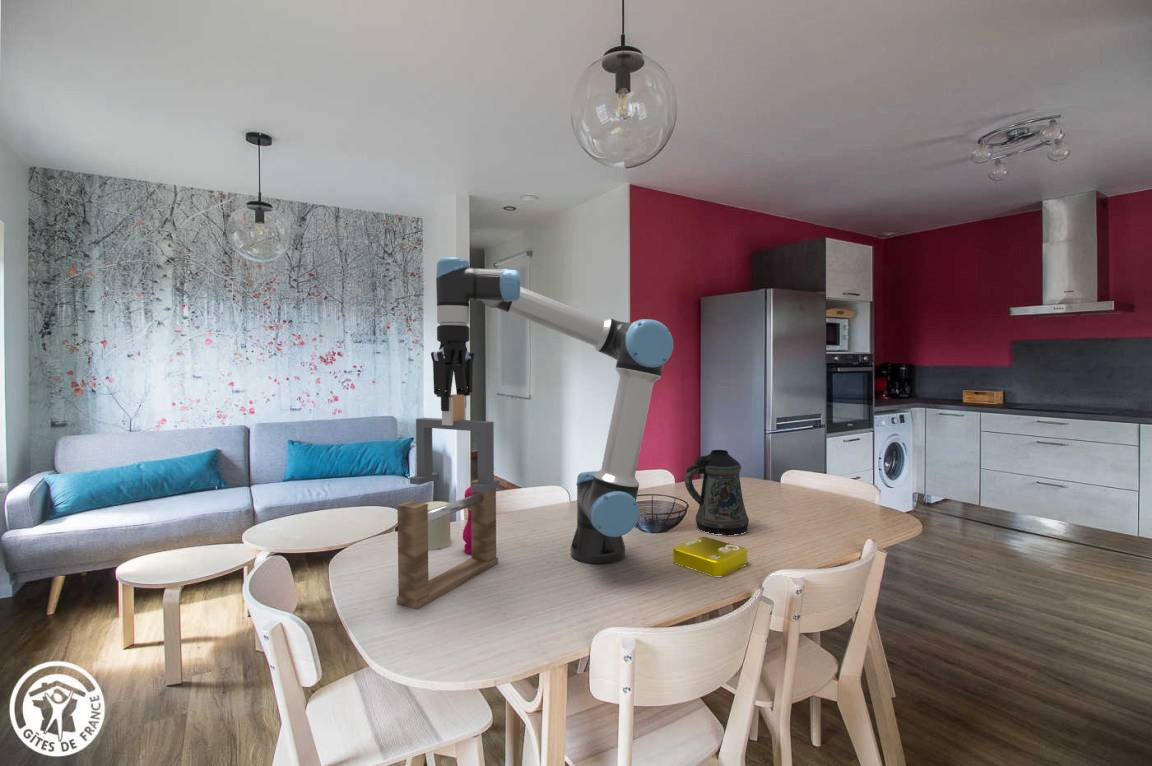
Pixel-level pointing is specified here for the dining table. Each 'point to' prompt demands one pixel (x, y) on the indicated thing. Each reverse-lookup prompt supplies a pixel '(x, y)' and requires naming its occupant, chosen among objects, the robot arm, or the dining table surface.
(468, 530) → the pepper mill
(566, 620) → the dining table surface
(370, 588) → the dining table surface
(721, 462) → the beer stein
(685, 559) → the element tile
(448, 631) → the dining table surface
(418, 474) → the grey arch gate
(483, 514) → the rack
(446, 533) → the can
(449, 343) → the robot arm
